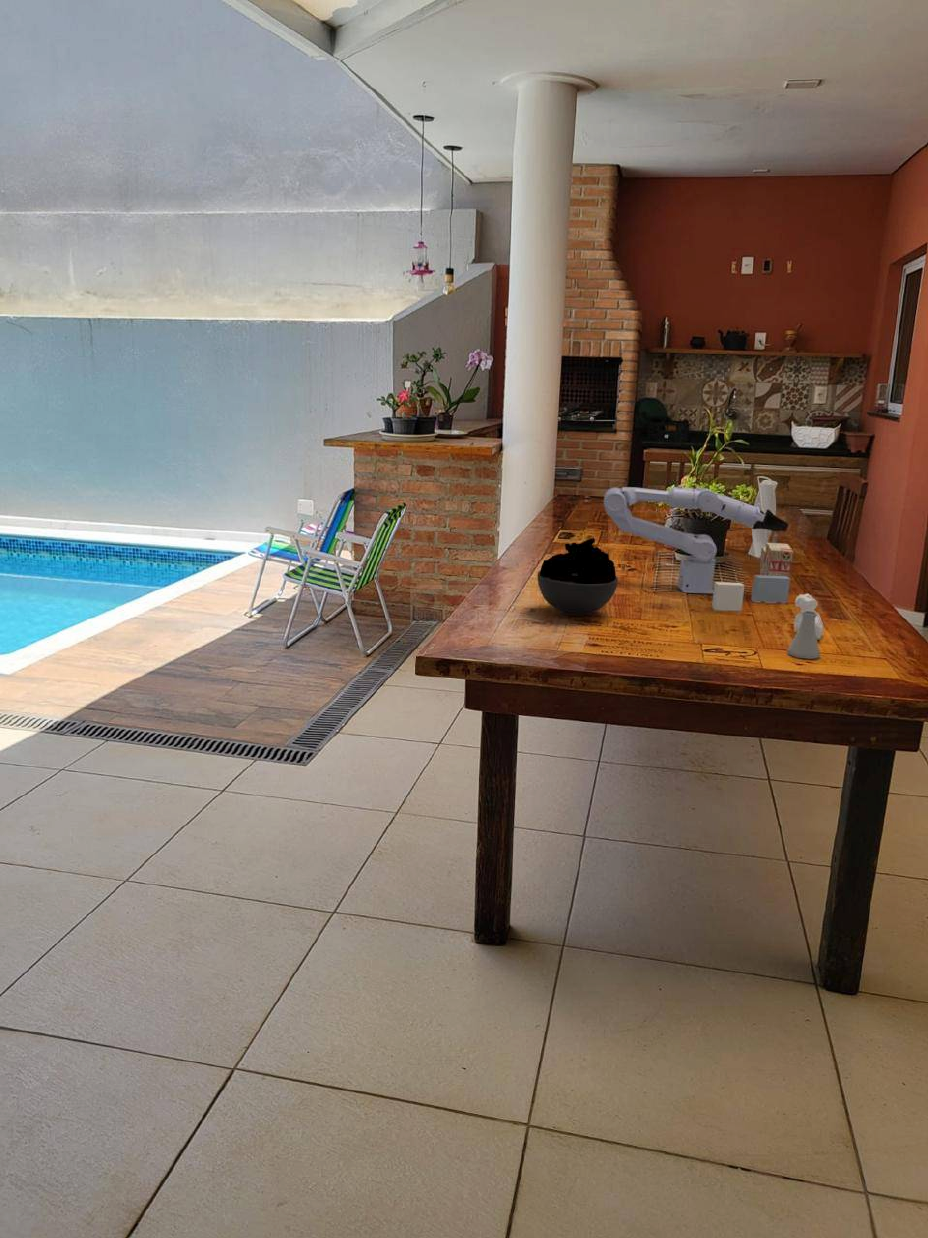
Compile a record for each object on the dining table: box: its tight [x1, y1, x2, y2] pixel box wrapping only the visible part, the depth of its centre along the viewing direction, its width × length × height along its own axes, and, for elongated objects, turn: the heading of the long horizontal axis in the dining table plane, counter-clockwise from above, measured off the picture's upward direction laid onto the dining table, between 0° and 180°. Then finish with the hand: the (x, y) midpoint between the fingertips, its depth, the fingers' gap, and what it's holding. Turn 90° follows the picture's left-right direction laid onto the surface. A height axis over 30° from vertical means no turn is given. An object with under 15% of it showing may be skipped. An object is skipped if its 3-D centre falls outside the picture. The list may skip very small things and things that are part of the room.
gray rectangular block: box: [750, 574, 791, 604], centre depth 258 cm, size 9×3×7 cm, turn 91°
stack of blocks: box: [758, 542, 794, 578], centre depth 281 cm, size 21×6×12 cm, turn 169°
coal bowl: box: [537, 537, 619, 617], centre depth 233 cm, size 20×20×19 cm
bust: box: [793, 593, 825, 640], centre depth 225 cm, size 12×8×11 cm
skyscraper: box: [747, 475, 779, 560], centre depth 322 cm, size 8×8×28 cm
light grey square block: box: [711, 581, 745, 612], centre depth 248 cm, size 7×3×7 cm, turn 91°
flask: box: [786, 611, 821, 660], centre depth 209 cm, size 7×7×10 cm
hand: (783, 527), depth 261 cm, fingers open, 7 cm apart
